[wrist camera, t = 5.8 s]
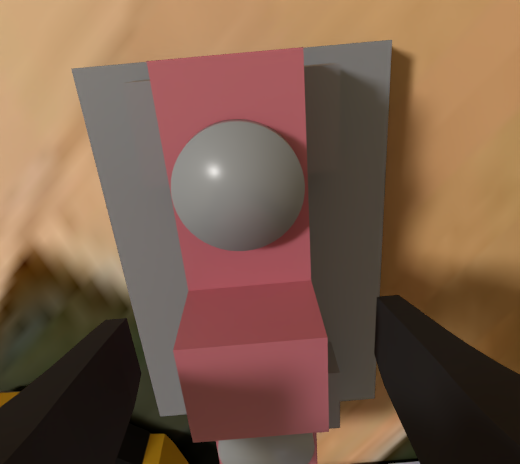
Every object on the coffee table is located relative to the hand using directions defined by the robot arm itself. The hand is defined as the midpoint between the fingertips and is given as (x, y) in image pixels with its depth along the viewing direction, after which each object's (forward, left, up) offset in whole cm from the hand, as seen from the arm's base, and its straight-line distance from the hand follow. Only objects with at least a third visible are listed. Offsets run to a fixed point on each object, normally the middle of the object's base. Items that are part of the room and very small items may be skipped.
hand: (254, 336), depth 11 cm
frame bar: (0, 0, -2) cm, 2 cm away
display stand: (0, 0, -5) cm, 5 cm away
